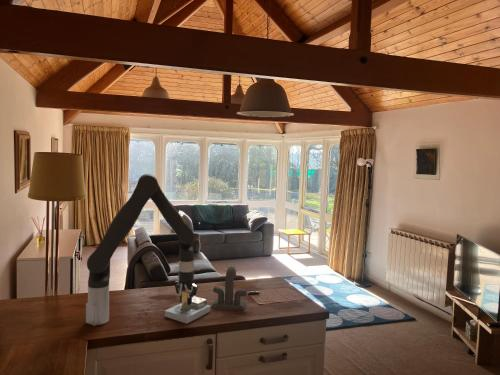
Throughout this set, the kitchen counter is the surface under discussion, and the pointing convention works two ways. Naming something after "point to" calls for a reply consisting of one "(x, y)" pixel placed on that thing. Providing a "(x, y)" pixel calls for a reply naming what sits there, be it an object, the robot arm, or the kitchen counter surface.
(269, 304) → the kitchen counter surface
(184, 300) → the cylinder
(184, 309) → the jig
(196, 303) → the shunt plate
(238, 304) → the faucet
